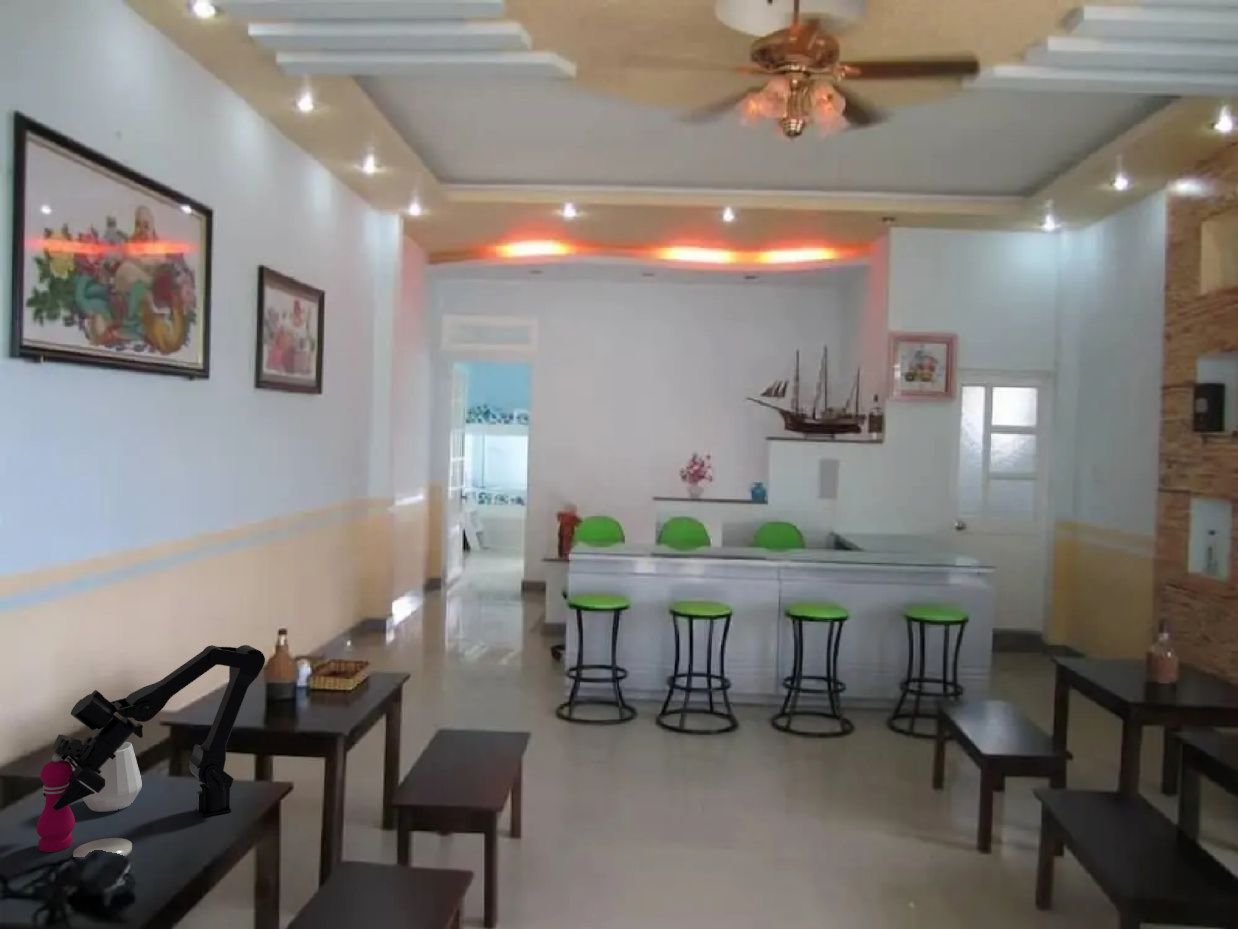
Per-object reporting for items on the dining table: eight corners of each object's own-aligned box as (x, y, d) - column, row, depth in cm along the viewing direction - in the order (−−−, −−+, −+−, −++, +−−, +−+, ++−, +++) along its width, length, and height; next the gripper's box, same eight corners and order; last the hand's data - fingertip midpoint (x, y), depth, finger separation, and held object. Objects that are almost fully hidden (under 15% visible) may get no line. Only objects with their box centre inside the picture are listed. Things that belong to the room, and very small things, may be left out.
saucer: (127, 838, 214) (127, 834, 214) (135, 857, 205) (135, 852, 205) (70, 849, 208) (70, 845, 208) (75, 869, 199) (76, 864, 199)
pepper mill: (33, 855, 205) (34, 761, 204) (38, 842, 211) (39, 750, 211) (72, 850, 207) (74, 757, 207) (76, 837, 214) (77, 747, 214)
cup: (136, 812, 229) (137, 754, 228) (72, 817, 225) (73, 757, 224) (146, 792, 241) (147, 736, 241) (86, 796, 238) (87, 739, 237)
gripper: (68, 711, 218) (10, 769, 211) (89, 731, 204) (28, 795, 197) (106, 739, 224) (50, 797, 217) (129, 761, 210) (71, 824, 203)
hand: (49, 802), depth 208 cm, fingers open, 9 cm apart
